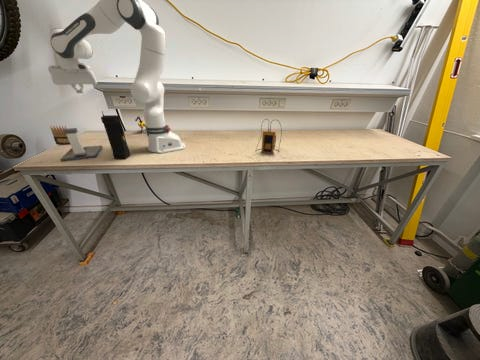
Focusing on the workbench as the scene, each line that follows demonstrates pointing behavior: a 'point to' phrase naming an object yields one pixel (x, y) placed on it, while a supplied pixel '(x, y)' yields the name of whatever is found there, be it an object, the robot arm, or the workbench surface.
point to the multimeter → (268, 140)
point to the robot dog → (141, 123)
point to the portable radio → (116, 136)
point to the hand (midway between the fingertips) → (80, 93)
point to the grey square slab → (90, 153)
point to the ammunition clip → (60, 135)
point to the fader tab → (74, 141)
